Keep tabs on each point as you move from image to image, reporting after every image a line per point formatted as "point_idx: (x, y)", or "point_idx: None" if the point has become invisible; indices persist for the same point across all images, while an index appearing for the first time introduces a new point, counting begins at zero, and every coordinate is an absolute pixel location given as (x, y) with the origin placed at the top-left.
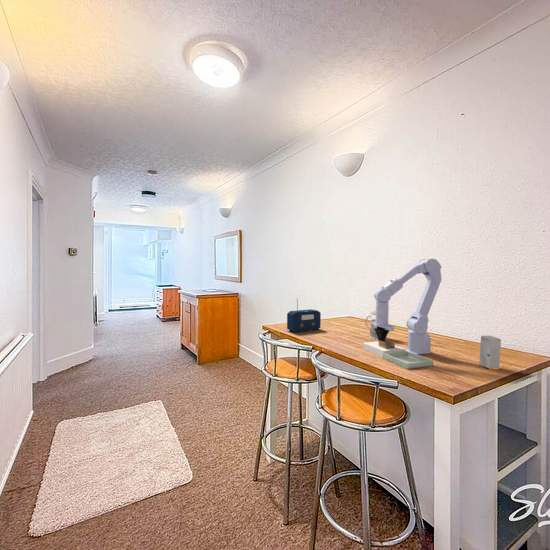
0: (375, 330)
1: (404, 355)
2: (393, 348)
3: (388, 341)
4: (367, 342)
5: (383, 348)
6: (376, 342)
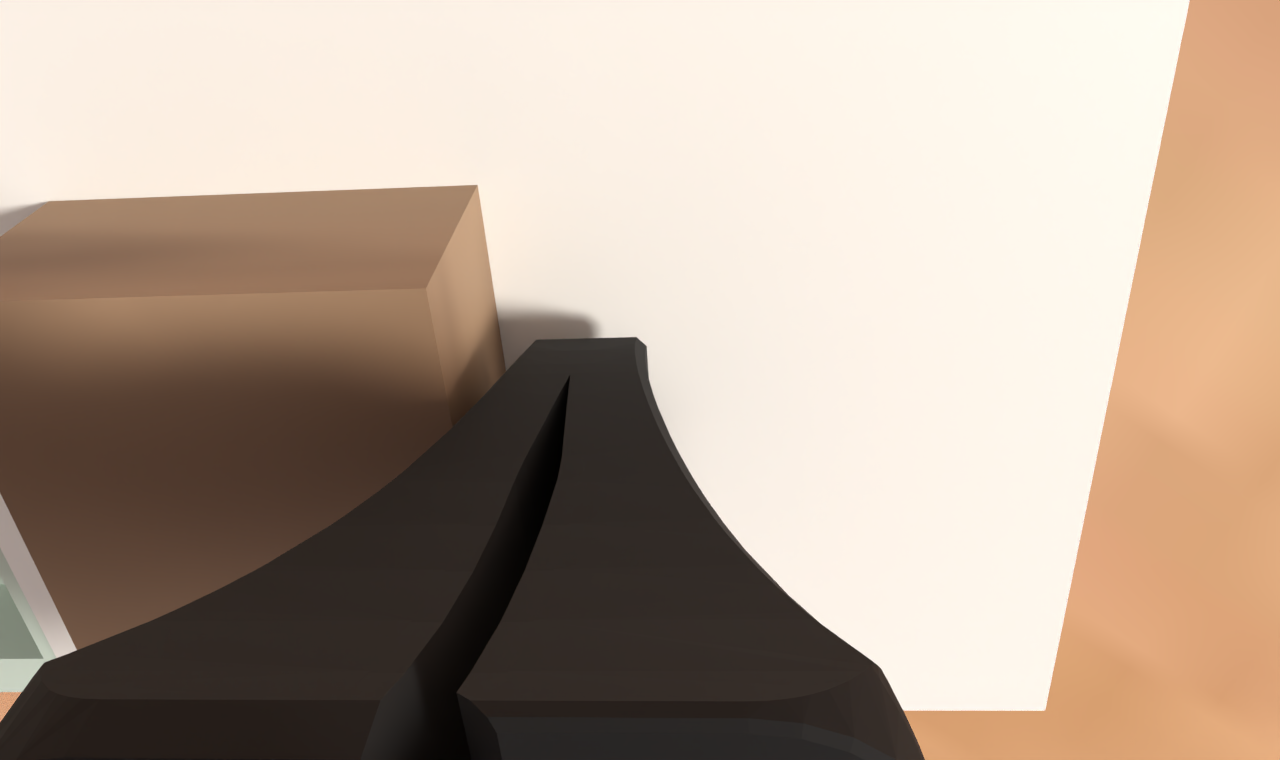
0: (706, 649)
1: None
2: None
3: None
4: (1163, 62)
5: (102, 156)
6: (985, 415)
